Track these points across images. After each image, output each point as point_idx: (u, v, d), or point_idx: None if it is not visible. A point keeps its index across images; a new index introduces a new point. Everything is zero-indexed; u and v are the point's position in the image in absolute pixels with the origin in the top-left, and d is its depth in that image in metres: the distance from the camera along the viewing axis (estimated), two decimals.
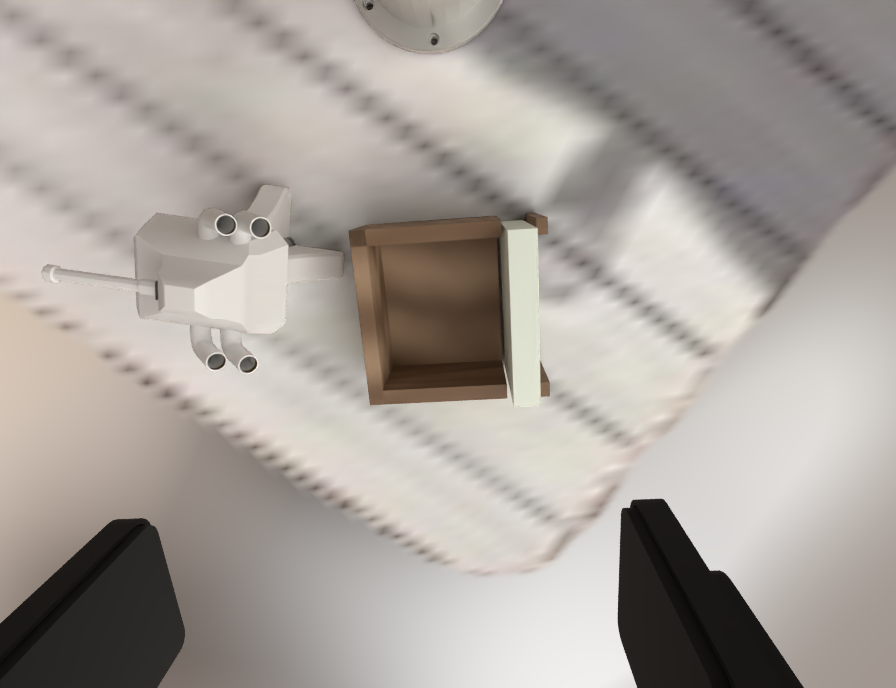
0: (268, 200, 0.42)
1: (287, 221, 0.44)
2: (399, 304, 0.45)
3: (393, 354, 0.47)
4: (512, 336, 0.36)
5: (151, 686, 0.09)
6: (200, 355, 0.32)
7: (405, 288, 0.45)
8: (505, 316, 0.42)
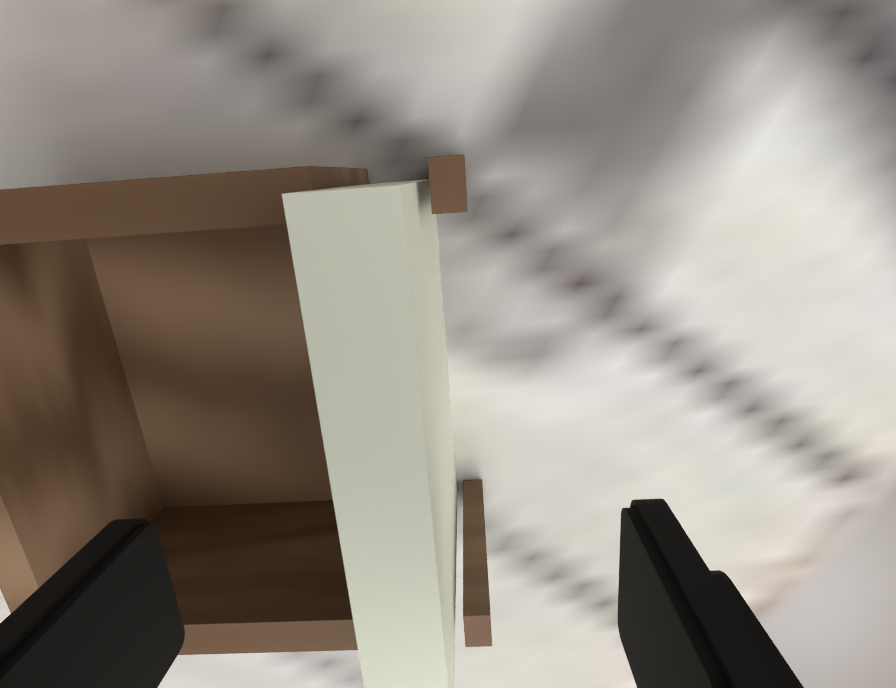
0: None
1: None
2: (156, 378, 0.19)
3: (160, 484, 0.21)
4: (346, 556, 0.11)
5: (151, 686, 0.09)
6: None
7: (163, 344, 0.19)
8: None
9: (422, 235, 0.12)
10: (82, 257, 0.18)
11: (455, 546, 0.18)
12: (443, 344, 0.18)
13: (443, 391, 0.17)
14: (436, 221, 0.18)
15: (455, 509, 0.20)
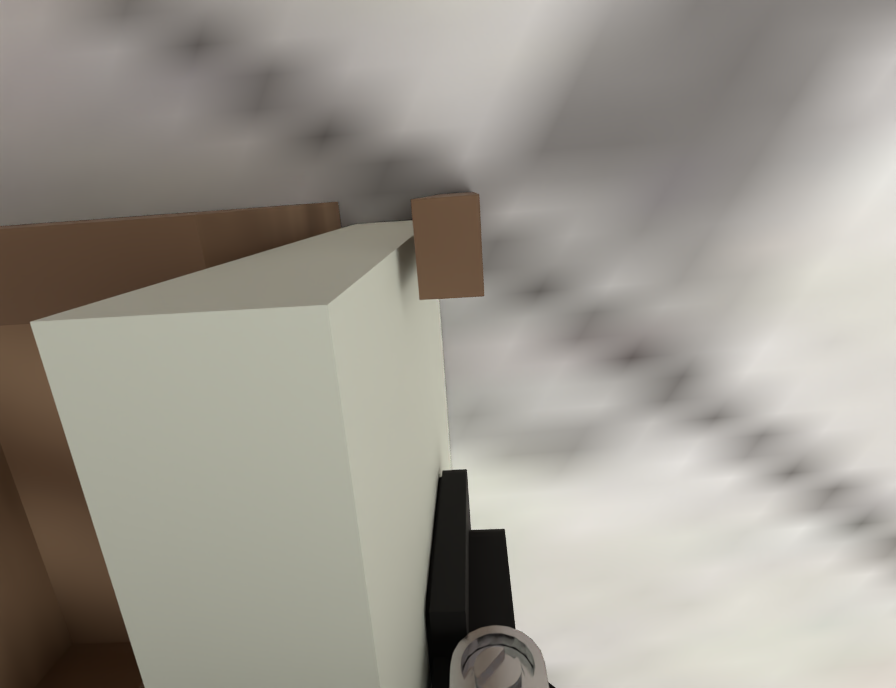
0: None
1: None
2: (53, 481, 0.14)
3: (65, 615, 0.16)
4: None
5: None
6: None
7: (61, 437, 0.14)
8: None
9: (407, 336, 0.07)
10: None
11: None
12: (445, 449, 0.13)
13: None
14: None
15: None
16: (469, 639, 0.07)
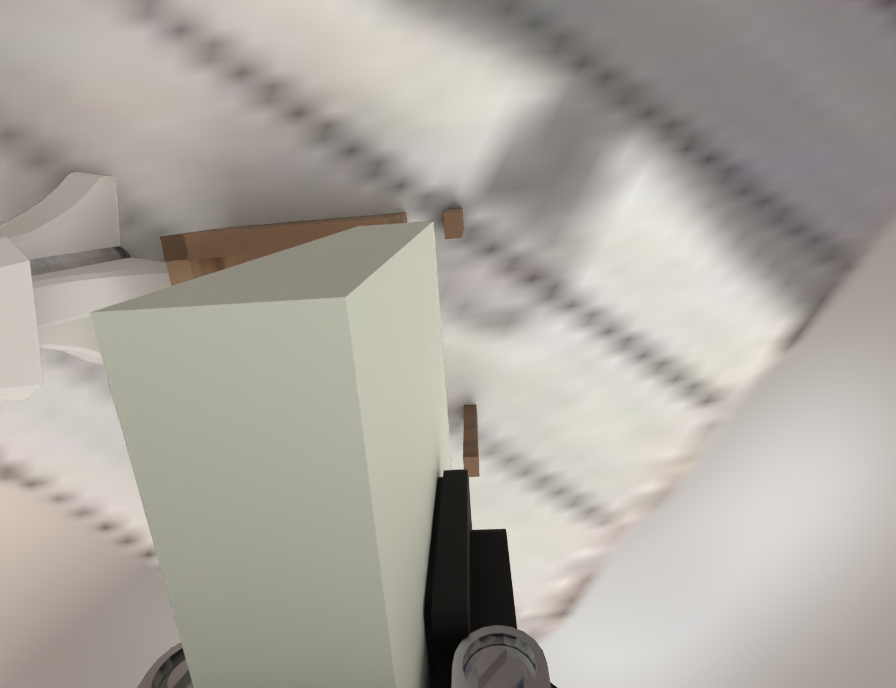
0: (70, 193, 0.29)
1: (112, 224, 0.31)
2: None
3: None
4: None
5: None
6: None
7: None
8: None
9: (410, 330, 0.07)
10: None
11: None
12: (445, 442, 0.13)
13: None
14: (437, 277, 0.14)
15: None
16: (471, 639, 0.07)
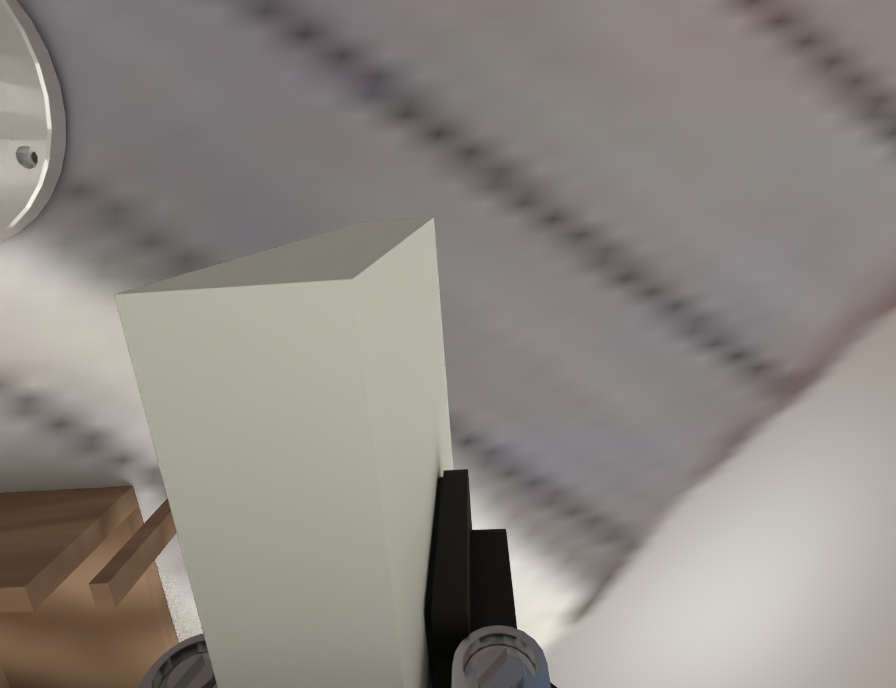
0: None
1: None
2: None
3: (8, 678, 0.30)
4: None
5: None
6: None
7: None
8: None
9: (412, 320, 0.08)
10: None
11: None
12: (446, 434, 0.14)
13: None
14: (437, 272, 0.14)
15: None
16: (471, 639, 0.07)
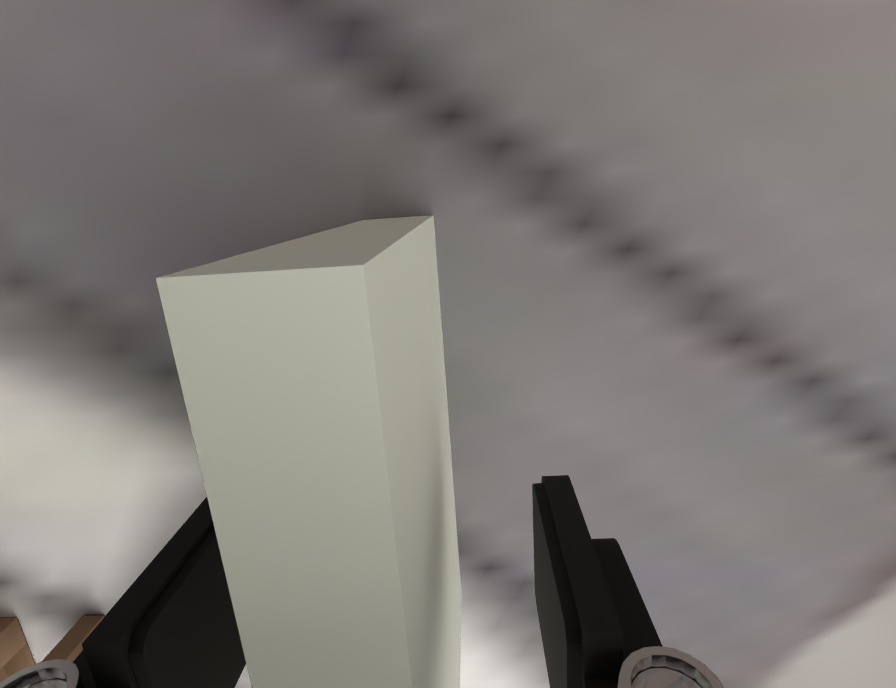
0: None
1: None
2: None
3: None
4: None
5: None
6: None
7: None
8: None
9: (413, 309, 0.08)
10: None
11: (458, 680, 0.14)
12: (444, 422, 0.14)
13: (444, 491, 0.13)
14: (436, 267, 0.14)
15: (458, 623, 0.16)
16: (632, 661, 0.06)
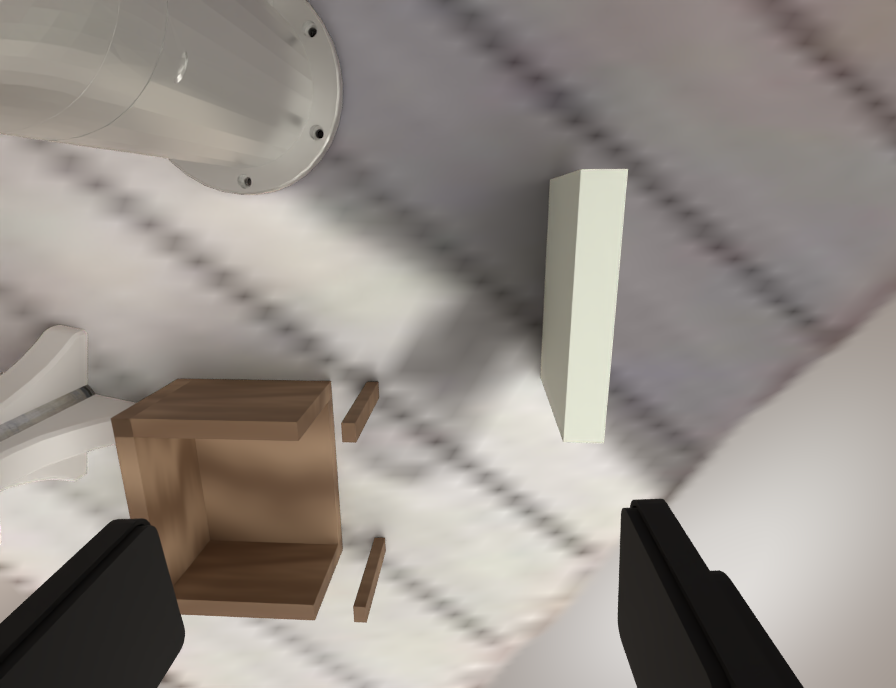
0: (45, 351, 0.34)
1: (81, 369, 0.36)
2: (215, 473, 0.37)
3: (209, 527, 0.39)
4: (571, 336, 0.24)
5: (151, 686, 0.09)
6: None
7: (221, 456, 0.37)
8: (552, 310, 0.30)
9: None
10: None
11: None
12: None
13: None
14: None
15: None
16: None
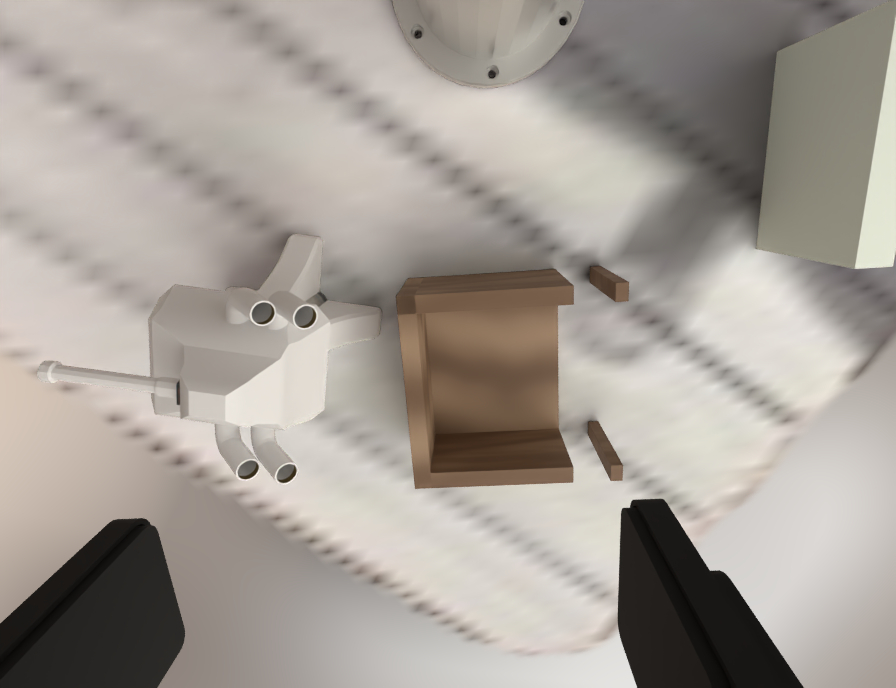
0: (298, 254, 0.36)
1: (318, 275, 0.39)
2: (444, 367, 0.40)
3: (436, 421, 0.41)
4: (873, 162, 0.26)
5: (151, 686, 0.09)
6: (228, 460, 0.26)
7: (451, 349, 0.39)
8: (798, 168, 0.32)
9: None
10: None
11: None
12: None
13: None
14: None
15: None
16: None
